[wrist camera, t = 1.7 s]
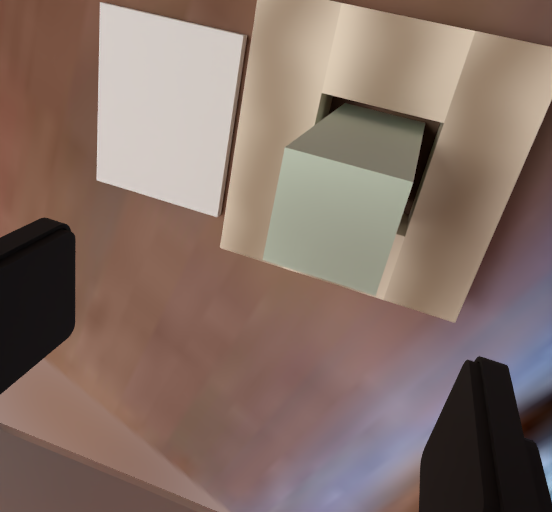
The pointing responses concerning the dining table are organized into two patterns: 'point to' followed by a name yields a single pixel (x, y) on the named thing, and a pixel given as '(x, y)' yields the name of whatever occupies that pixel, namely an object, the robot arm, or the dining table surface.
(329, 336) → the dining table surface
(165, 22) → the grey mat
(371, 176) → the sage block
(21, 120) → the dining table surface
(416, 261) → the square hole frame
